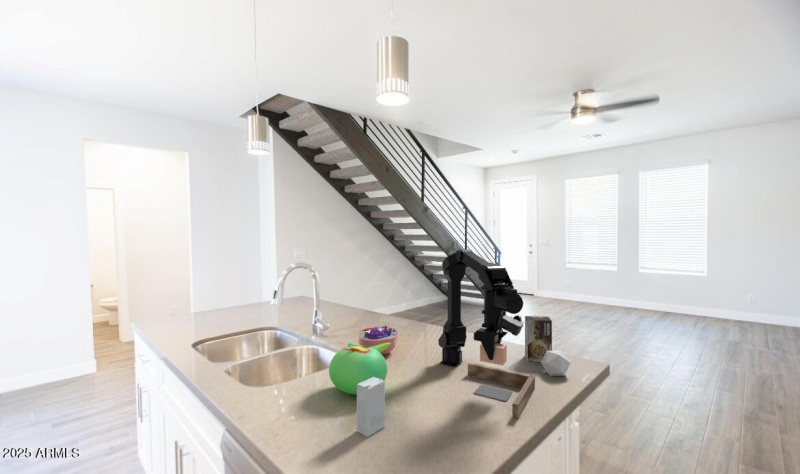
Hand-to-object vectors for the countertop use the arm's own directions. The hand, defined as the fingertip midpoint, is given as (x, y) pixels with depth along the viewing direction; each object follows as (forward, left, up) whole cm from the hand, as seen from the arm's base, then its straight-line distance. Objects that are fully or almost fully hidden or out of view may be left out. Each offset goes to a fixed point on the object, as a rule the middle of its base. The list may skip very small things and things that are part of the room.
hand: (493, 357), depth 111 cm
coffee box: (+6, +38, -11) cm, 40 cm away
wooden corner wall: (-1, -1, -11) cm, 11 cm away
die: (+14, +26, -11) cm, 32 cm away
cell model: (-51, +12, -11) cm, 54 cm away
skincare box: (-20, -36, -11) cm, 43 cm away
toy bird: (-36, -20, -11) cm, 43 cm away
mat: (0, 0, -11) cm, 11 cm away
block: (0, 0, -1) cm, 1 cm away
